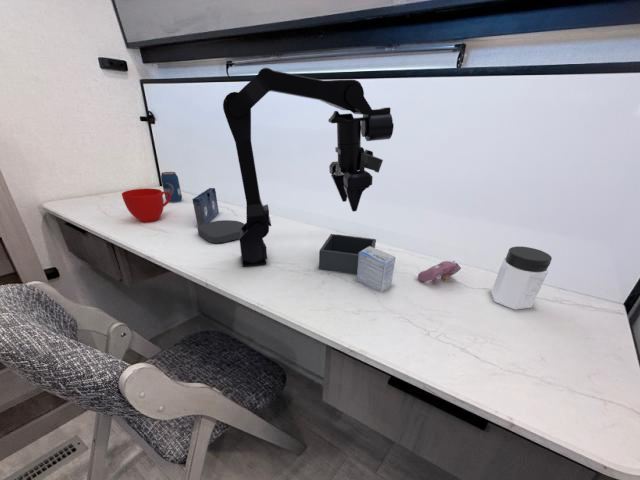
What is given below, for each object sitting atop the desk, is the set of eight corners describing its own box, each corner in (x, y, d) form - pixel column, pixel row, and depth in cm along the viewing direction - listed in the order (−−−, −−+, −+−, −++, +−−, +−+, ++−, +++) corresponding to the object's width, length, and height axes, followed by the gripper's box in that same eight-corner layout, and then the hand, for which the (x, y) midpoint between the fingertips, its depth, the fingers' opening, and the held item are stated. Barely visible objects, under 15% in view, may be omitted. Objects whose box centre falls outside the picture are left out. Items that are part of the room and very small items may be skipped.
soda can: (162, 202, 136) (156, 173, 130) (171, 198, 142) (165, 171, 136) (177, 203, 136) (171, 174, 129) (185, 199, 141) (180, 172, 135)
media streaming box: (213, 245, 95) (211, 236, 94) (194, 233, 104) (193, 224, 103) (254, 236, 103) (253, 227, 102) (233, 225, 113) (232, 217, 111)
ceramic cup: (184, 216, 120) (178, 189, 115) (142, 227, 108) (134, 198, 102) (163, 210, 126) (157, 185, 120) (122, 220, 113) (113, 192, 108)
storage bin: (318, 269, 83) (319, 250, 80) (330, 250, 95) (330, 233, 92) (368, 276, 81) (370, 257, 78) (373, 256, 92) (376, 239, 89)
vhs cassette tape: (213, 212, 125) (209, 187, 120) (220, 213, 125) (216, 187, 120) (196, 227, 109) (190, 199, 104) (204, 227, 109) (199, 199, 104)
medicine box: (391, 286, 77) (396, 256, 71) (381, 294, 74) (385, 263, 69) (366, 274, 81) (369, 245, 76) (355, 281, 78) (358, 251, 73)
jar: (506, 311, 68) (527, 262, 62) (482, 293, 75) (499, 247, 68) (539, 307, 70) (563, 259, 63) (513, 290, 76) (532, 245, 70)
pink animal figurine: (424, 290, 78) (439, 273, 72) (414, 276, 80) (428, 259, 74) (451, 282, 82) (467, 266, 76) (442, 270, 84) (457, 253, 78)
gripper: (395, 144, 68) (390, 212, 77) (367, 136, 84) (365, 193, 92) (348, 149, 67) (348, 218, 76) (327, 139, 82) (330, 198, 91)
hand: (349, 206), depth 84 cm, fingers open, 9 cm apart
